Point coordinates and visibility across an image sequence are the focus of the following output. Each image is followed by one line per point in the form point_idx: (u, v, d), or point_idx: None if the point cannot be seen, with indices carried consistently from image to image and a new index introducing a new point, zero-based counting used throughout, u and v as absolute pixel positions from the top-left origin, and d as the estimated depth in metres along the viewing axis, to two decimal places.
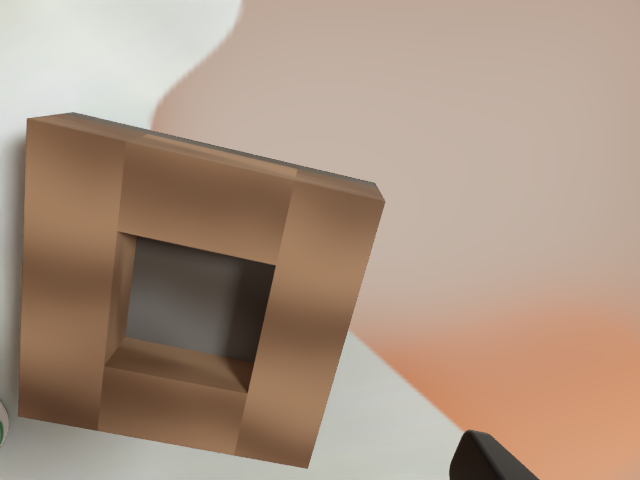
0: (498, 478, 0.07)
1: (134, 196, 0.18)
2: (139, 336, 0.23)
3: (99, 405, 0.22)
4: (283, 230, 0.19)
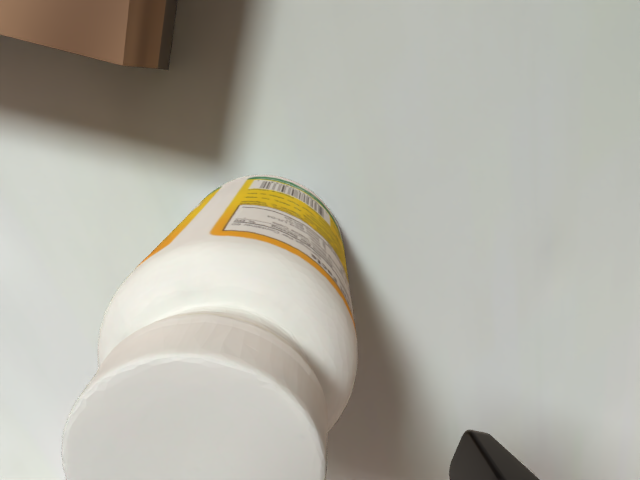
0: (498, 478, 0.07)
1: None
2: None
3: None
4: None
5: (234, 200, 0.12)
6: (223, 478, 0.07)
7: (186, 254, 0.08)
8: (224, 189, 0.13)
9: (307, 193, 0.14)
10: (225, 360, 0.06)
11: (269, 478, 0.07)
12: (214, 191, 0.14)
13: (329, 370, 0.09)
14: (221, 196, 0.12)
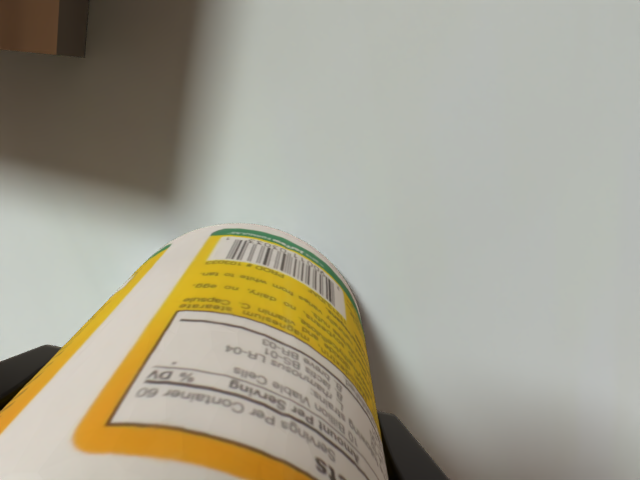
0: (387, 456, 0.07)
1: None
2: None
3: None
4: None
5: (172, 295, 0.06)
6: None
7: None
8: (170, 255, 0.08)
9: (308, 256, 0.09)
10: None
11: None
12: (158, 253, 0.09)
13: None
14: (157, 277, 0.07)
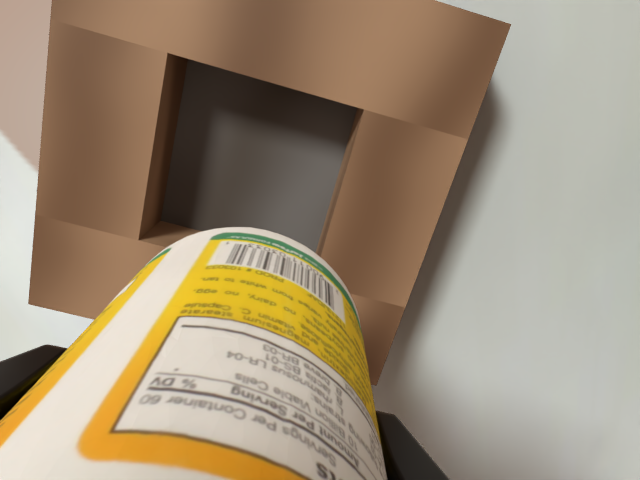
0: (387, 456, 0.07)
1: (95, 215, 0.17)
2: (312, 244, 0.20)
3: (368, 298, 0.18)
4: (118, 39, 0.15)
5: (173, 300, 0.06)
6: None
7: None
8: (170, 260, 0.08)
9: (307, 260, 0.09)
10: None
11: None
12: (158, 257, 0.09)
13: None
14: (157, 282, 0.07)
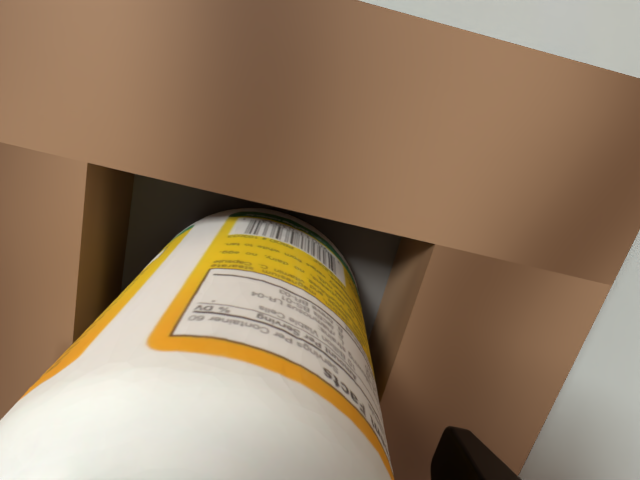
0: (475, 473, 0.07)
1: None
2: None
3: None
4: None
5: (204, 258, 0.08)
6: None
7: (93, 397, 0.05)
8: (195, 232, 0.09)
9: (312, 235, 0.10)
10: None
11: None
12: (184, 232, 0.10)
13: None
14: (188, 247, 0.08)
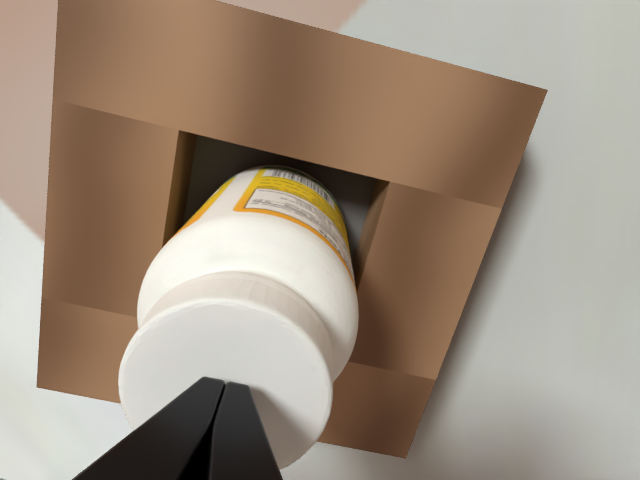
0: (213, 423, 0.07)
1: (105, 296, 0.16)
2: None
3: (396, 372, 0.17)
4: (125, 117, 0.14)
5: (250, 185, 0.13)
6: None
7: (214, 226, 0.10)
8: (240, 177, 0.15)
9: (314, 181, 0.16)
10: (252, 304, 0.08)
11: (286, 404, 0.09)
12: (230, 179, 0.16)
13: (334, 324, 0.10)
14: (238, 182, 0.14)
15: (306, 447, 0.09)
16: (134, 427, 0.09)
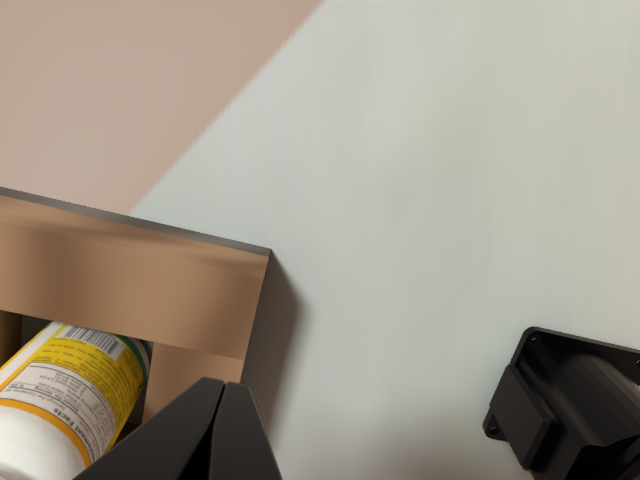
0: (213, 423, 0.07)
1: None
2: None
3: None
4: None
5: (32, 355, 0.17)
6: None
7: None
8: (44, 333, 0.19)
9: None
10: None
11: None
12: (44, 329, 0.20)
13: None
14: (33, 345, 0.18)
15: None
16: None
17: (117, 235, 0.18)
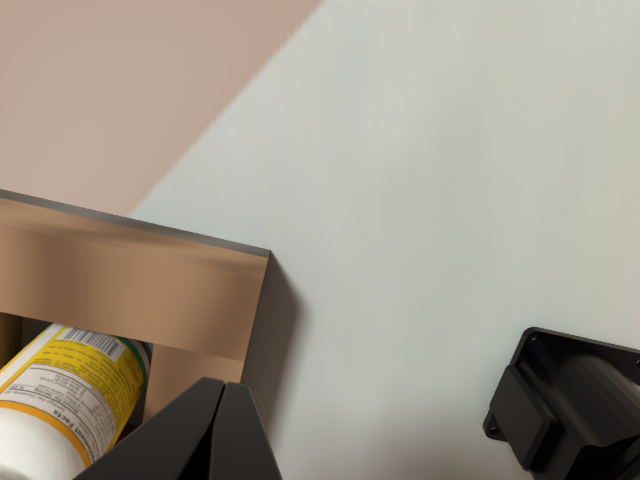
0: (213, 423, 0.07)
1: None
2: None
3: None
4: None
5: (33, 357, 0.18)
6: None
7: None
8: (45, 334, 0.19)
9: None
10: None
11: None
12: (44, 331, 0.20)
13: None
14: (33, 347, 0.18)
15: None
16: None
17: (117, 237, 0.18)
